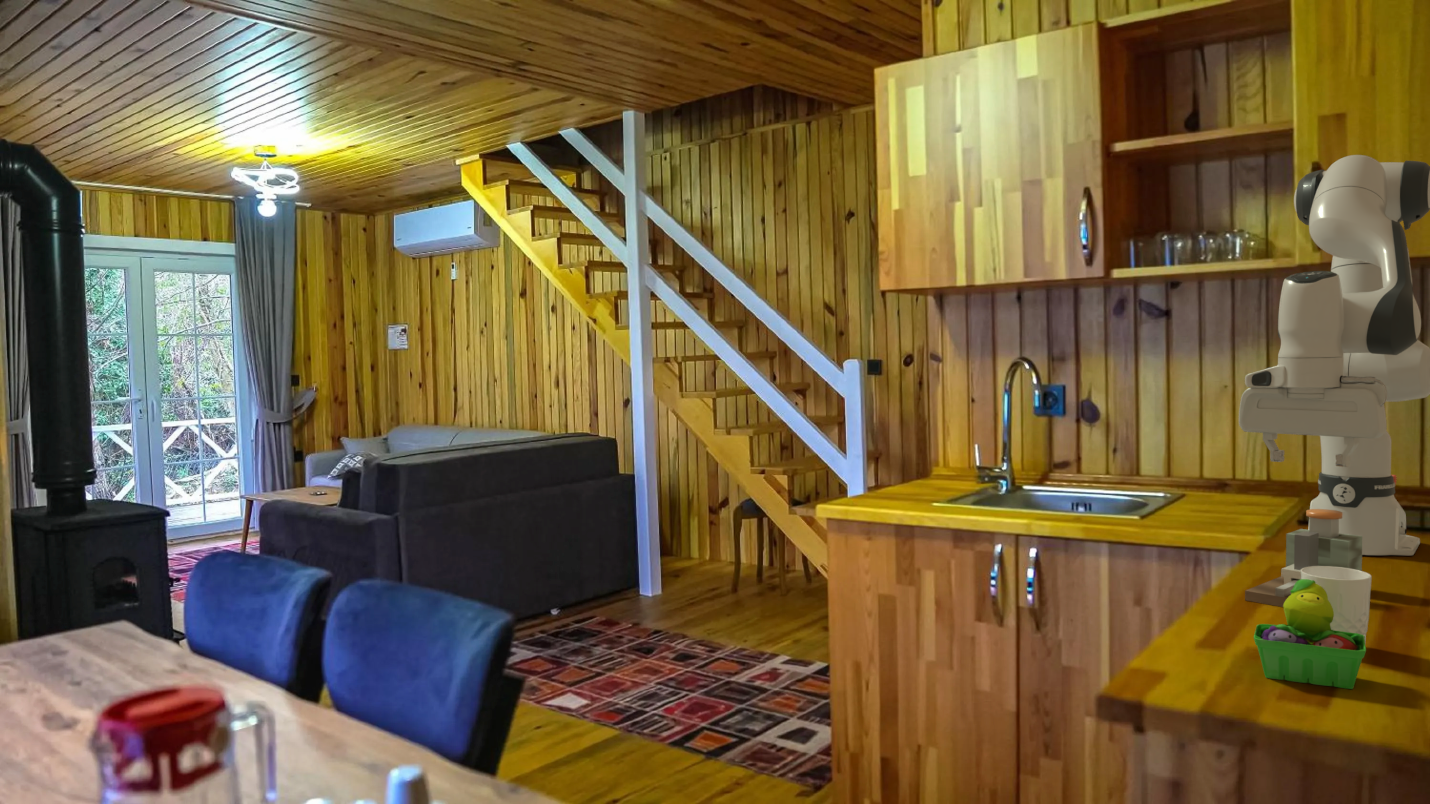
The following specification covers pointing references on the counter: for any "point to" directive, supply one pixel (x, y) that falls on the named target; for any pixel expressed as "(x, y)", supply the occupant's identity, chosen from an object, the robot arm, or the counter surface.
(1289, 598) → the fruit basket
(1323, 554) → the rail bed
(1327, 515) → the button
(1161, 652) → the counter surface
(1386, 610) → the counter surface
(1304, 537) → the carriage
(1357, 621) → the white cup
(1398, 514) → the robot arm
